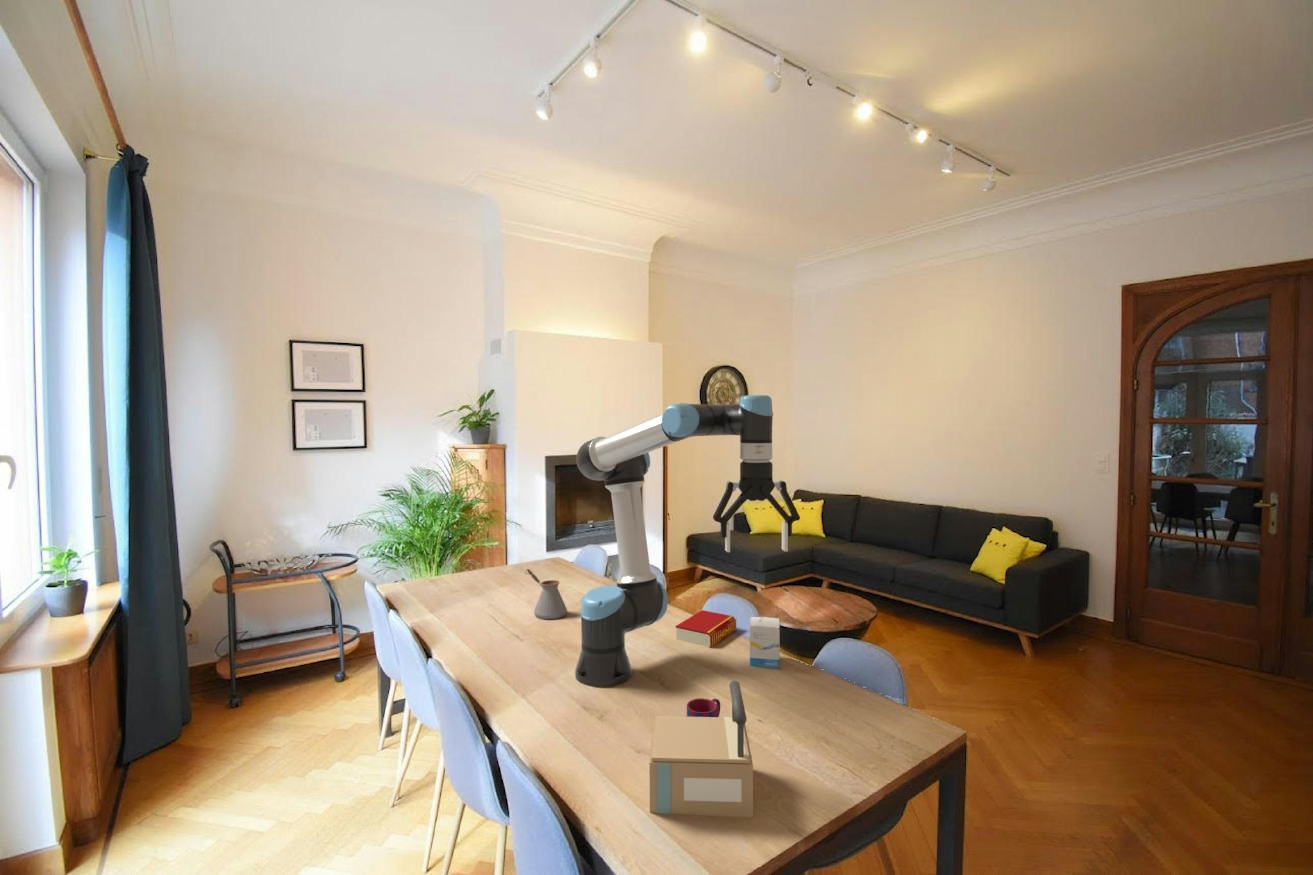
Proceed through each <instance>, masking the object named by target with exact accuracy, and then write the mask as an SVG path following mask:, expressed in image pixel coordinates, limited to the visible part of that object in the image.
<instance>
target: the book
mask: <svg viewBox="0 0 1313 875" xmlns="http://www.w3.org/2000/svg"><path fill="white" fill-rule="evenodd" d="M674 626H675V628H676V640H678V641H682V642H686V643H690V644H694V645H697V646H701V645H703V646H702V647H706V648H713V647H714V646H715V645H717V644H718V643H719V642H721V641H722V640H724V639H725V638H726V637H728V635H730V634H732V633H733V632H734V631H736V630H737V618H736V617H735V616H734V615H729V614H724V613H719V612H713V611H708V610H704V609H703V610H700V611H698V612H696V613H695V614H694V615H691V616H690V617H688V618H687V619H684V620H683V621H681V622H680V623H678V624H677V625H674Z"/></svg>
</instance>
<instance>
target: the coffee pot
mask: <svg viewBox="0 0 1313 875" xmlns="http://www.w3.org/2000/svg"><path fill="white" fill-rule="evenodd" d="M526 572H527V573H526ZM524 574H526V575H531V578H532V579H533V580H534V581H535V583H537V584H539V586H540V587H541V588H542V590H541V592H540V595H539V597H538V600H537V602H536V605H535V608H534V610H533V614H534V616H535V617H536V618H538V619H540V620H547V621H548V620H549V621H550V620H557V619H561V618H563V617H564V616H565V615H567V610H568V609H567V606H566V604H565V601H564V600H563V597H562V595H561V593H560V591H559V589H558V587H559V585H560V581H559V580H554V579H553V580H545V581H542V582H541V581H540V579H539V578H538V577H537V576H536V575H535V574H534V573H533V571H531V569H529V568H527V569H526V570H525V571H524Z"/></svg>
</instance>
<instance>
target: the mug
mask: <svg viewBox="0 0 1313 875" xmlns="http://www.w3.org/2000/svg"><path fill="white" fill-rule="evenodd" d="M720 712H721V702H720V700H719V698H713V699H709V698H702V697H701V698H700V697H699V698H695V699H694V698H693V699H691V700H689V701H688V702H687V704H686V717H720V715H721V714H720Z"/></svg>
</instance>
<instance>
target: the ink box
mask: <svg viewBox="0 0 1313 875" xmlns="http://www.w3.org/2000/svg"><path fill="white" fill-rule="evenodd" d="M780 630H781V629H780V618H779V617H777V618H776V617H766V616H758V617H756V616H751V617H750V623H749V666H750V667H755V668H765V669H766V668H769V669H780V657H781V656H780V648H781V647H780V646H781V645H780V642H781V641H780V640H781V639H780V637H781V636H780Z"/></svg>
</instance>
